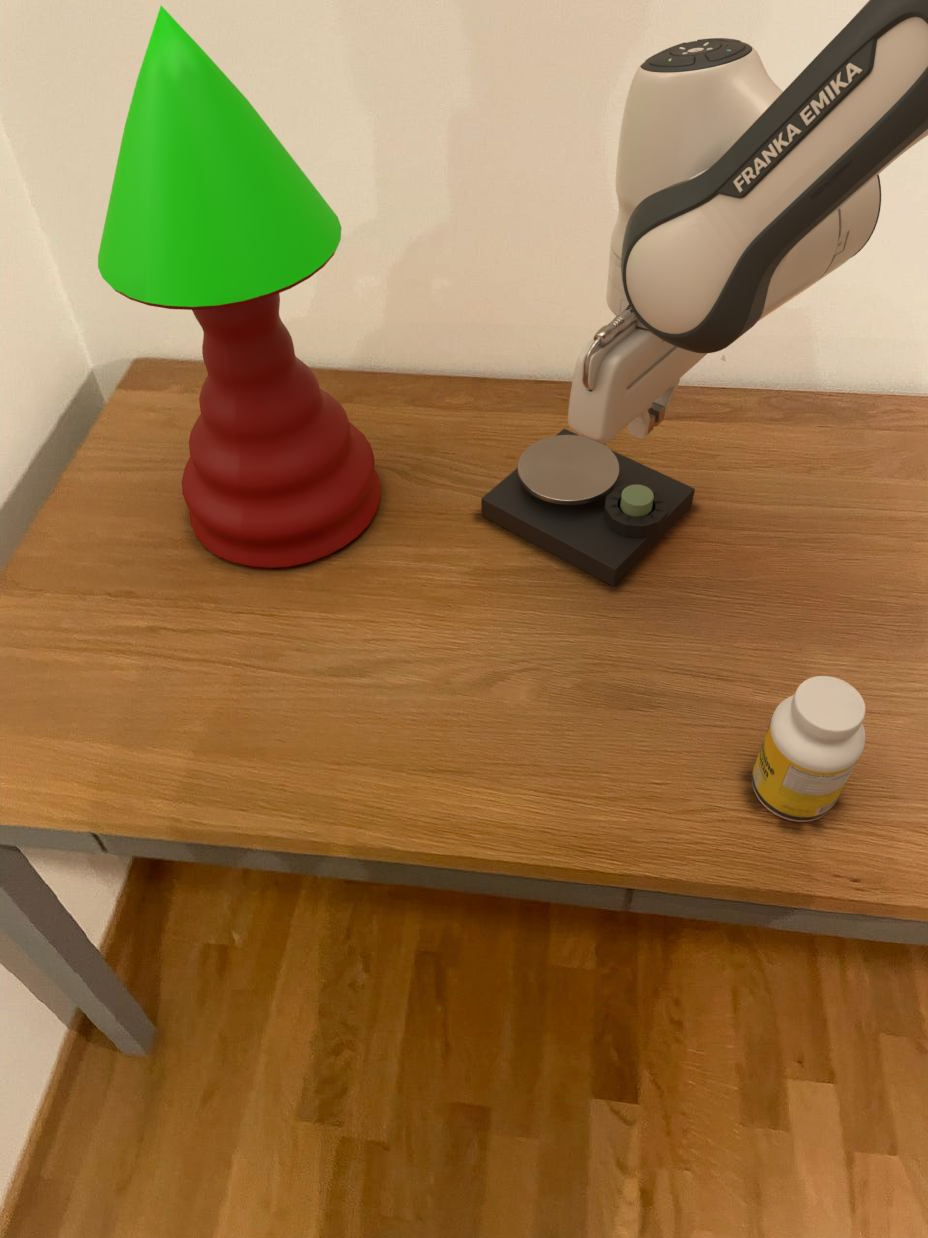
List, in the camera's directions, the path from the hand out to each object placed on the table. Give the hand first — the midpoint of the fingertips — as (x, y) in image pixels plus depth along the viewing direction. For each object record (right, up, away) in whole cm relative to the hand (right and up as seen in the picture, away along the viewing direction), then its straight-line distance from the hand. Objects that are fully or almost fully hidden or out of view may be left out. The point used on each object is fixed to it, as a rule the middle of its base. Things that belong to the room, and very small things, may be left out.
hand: (646, 426), depth 81 cm
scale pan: (-6, -2, +10) cm, 12 cm away
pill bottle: (+10, -30, -9) cm, 33 cm away
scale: (-4, -6, +12) cm, 14 cm away
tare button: (0, -6, +7) cm, 9 cm away
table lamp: (-34, -5, +15) cm, 38 cm away
